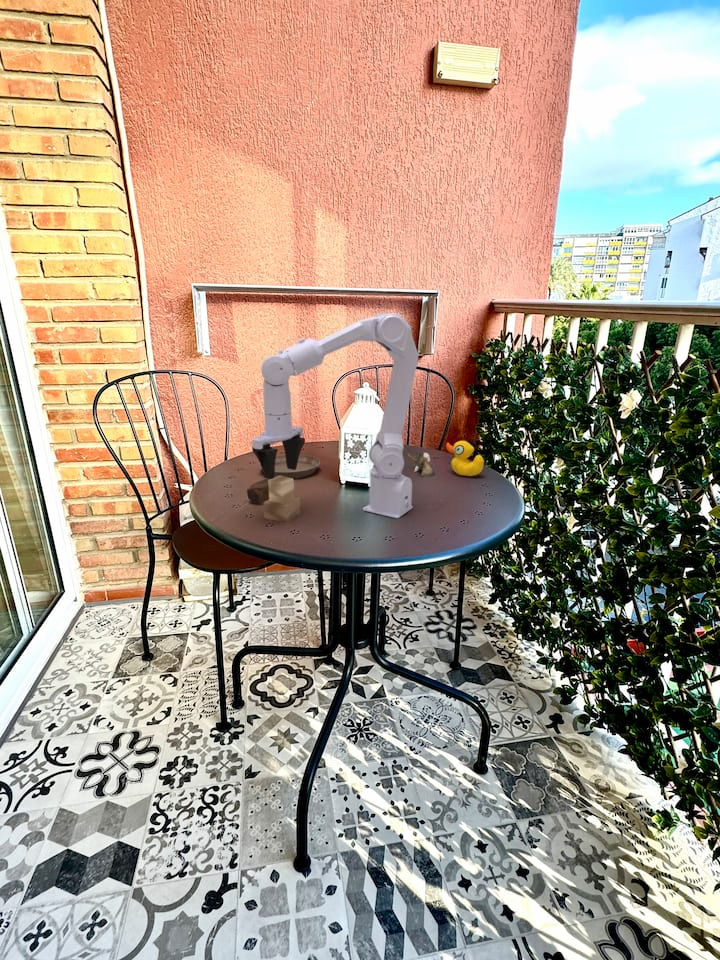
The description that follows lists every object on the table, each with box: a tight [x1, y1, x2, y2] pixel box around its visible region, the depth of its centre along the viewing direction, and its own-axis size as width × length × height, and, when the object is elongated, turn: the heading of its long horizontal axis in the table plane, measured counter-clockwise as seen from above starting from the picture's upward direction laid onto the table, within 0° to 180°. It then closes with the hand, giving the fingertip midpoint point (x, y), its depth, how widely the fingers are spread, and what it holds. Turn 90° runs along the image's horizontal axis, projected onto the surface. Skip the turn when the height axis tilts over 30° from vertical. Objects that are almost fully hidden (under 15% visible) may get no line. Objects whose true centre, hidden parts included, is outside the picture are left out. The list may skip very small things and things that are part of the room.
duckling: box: [445, 440, 485, 477], centre depth 140 cm, size 11×5×10 cm, turn 58°
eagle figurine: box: [407, 452, 435, 478], centre depth 143 cm, size 8×7×9 cm
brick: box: [246, 475, 279, 505], centre depth 123 cm, size 11×4×5 cm, turn 146°
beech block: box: [268, 476, 295, 505], centre depth 111 cm, size 4×4×5 cm
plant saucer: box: [258, 454, 321, 479], centre depth 144 cm, size 18×18×3 cm
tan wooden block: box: [262, 496, 301, 523], centre depth 112 cm, size 6×6×4 cm
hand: (280, 473), depth 109 cm, fingers open, 7 cm apart
